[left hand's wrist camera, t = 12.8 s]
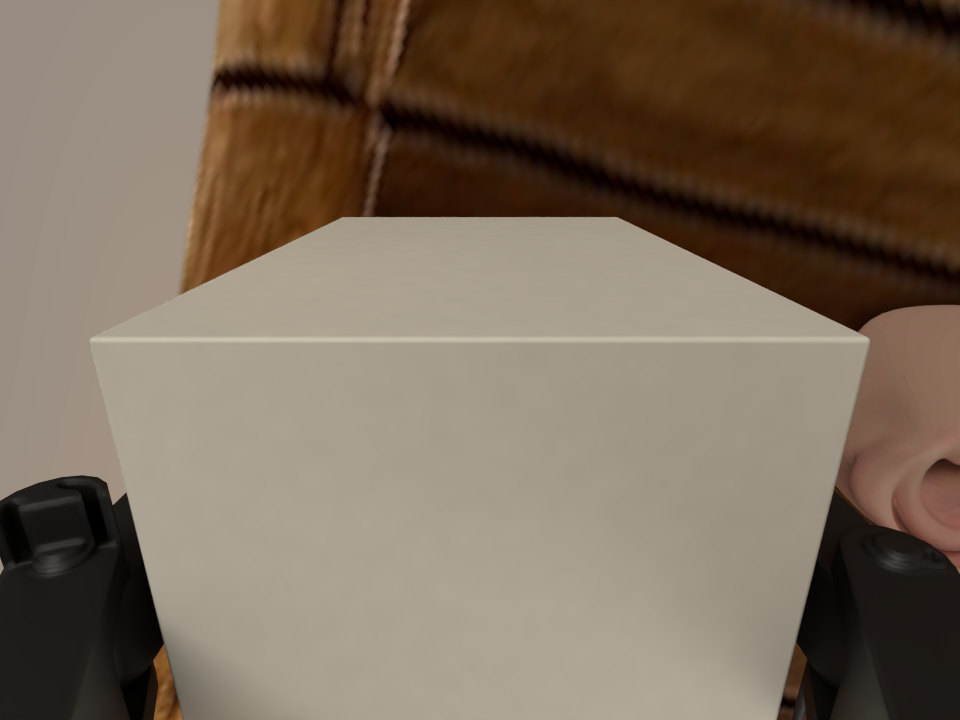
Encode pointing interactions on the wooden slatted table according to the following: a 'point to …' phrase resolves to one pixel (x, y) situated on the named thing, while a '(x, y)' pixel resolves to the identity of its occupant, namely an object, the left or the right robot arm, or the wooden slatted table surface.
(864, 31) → the wooden slatted table surface
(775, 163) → the wooden slatted table surface
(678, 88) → the wooden slatted table surface
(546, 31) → the wooden slatted table surface
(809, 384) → the brick
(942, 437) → the anatomical model
